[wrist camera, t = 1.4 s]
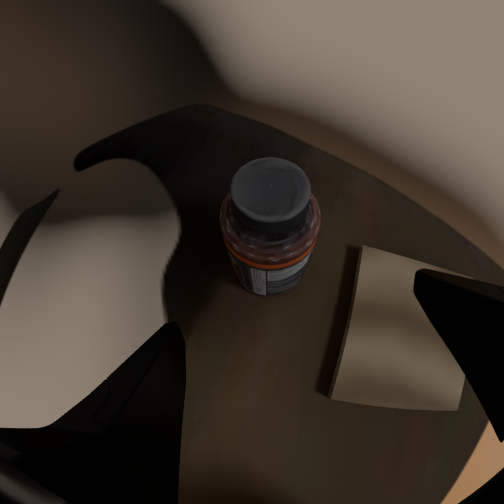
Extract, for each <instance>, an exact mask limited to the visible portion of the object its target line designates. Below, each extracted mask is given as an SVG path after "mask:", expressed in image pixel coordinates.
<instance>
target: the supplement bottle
mask: <svg viewBox="0 0 504 504" xmlns="http://www.w3.org/2000/svg"><path fill="white" fill-rule="evenodd" d="M219 220H220V228H221V232H222V235H223V238H224V242H225V245H226V248H227V250H228V253H229V256H230V259H231V262H232V265H233V268H234V272H235V274H236V276H237V278H238V279H239V281H240V282H241V284H242V285H243V286H244V287H245V288H246V289H247V290H248V291H250V292H252V293H253V294H256V295H259V296H263V297H277V296H281V295H283V294H285V293H287V292H289V291H290V290H292V289H293V288H294V287H295V286H296V285H297V284H298V283H299V281H300V279H301V277H302V276H303V274H304V271H305V268H306V266H307V263H308V261H309V258H310V256H311V253H312V251H313V248H314V245H315V242H316V239H317V237H318V234H319V230H320V222H321V215H320V210H319V206H318V204H317V201H316V199H315V197H314V196H313V194H312V193H311V187H310V182H309V179H308V178H307V176H306V174H305V173H304V171H303V170H302V169H301V168H299V167H298V166H297V165H295V164H294V163H292V162H290V161H287V160H284V159H280V158H273V157H267V158H260V159H256V160H253V161H251V162H249V163H247V164H245V165H244V166H242V167H241V168H240V169H239V170H238V171H237V172H236V174H235V175H234V177H233V179H232V182H231V187H230V192H229V193H228V195H227V196H226V198H225V199H224V201H223V204H222V207H221V210H220V217H219Z"/></svg>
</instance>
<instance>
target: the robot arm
mask: <svg viewBox="0 0 504 504" xmlns="http://www.w3.org/2000/svg"><path fill="white" fill-rule="evenodd" d="M413 293H414V295H415V297H416V299H417V300H418V302H419V304H420V305H421V307H422V309H423V311H424V312H425V314H426V316H427V318H428V319H429V321H430V323H431V324H432V326H433V327H434V329H435V330H436V331H437V333H438V334H439V336H440V337H441V339H442V340H443V342H444V343H445V345H446V346H447V348H448V349H449V351H450V352H451V354H452V355H453V357H454V358H455V360H456V362H457V363H458V365H459V366H460V368H461V370H462V371H463V373H464V375H465V376H466V378H467V380H468V381H469V383H470V385H471V386H472V388H473V390H474V392H475V393H476V395H477V397H478V399H479V401H480V403H481V405H482V407H483V409H484V410H485V412H486V414H487V416H488V418H489V420H490V422H491V424H492V426H493V428H494V430H495V433H496V435H497V437H498V439H499V441H500V442H503V440H504V287H503V286H499V285H495V284H491V283H487V282H483V281H478V280H474V279H470V278H466V277H462V276H457V275H453V274H449V273H444V272H440V271H436V270H431V269H427V268H423V269H420V270H417V271H416V272H415V278H414V286H413ZM185 389H186V345H185V340H184V337H183V335H182V332H181V330H180V327H179V325H178V323H177V322H169V323H165V324H164V325H163V326H162V327H161V328H160V329H159V330H158V331H157V332H155V333H154V334H153V335H152V336H151V337H150V338H149V339H148V340H147V341H146V342H145V343H144V344H143V345H142V346H141V347H139V349H137V350H136V351H135V352H134V353H133V354H132V355H131V356H130V357H129V358H128V359H127V360H126V361H125V362H123V363H122V364H121V365H120V366H119V367H118V368H117V369H116V370H115V371H114V372H113V373H112V374H111V375H110V376H109V377H107V379H105V380H104V381H103V382H102V383H101V384H100V385H99V386H98V387H97V388H96V389H95V390H94V391H92V392H91V393H90V394H89V395H88V396H87V397H85V398H84V399H83V400H82V401H80V402H79V403H78V404H77V405H75V406H74V407H73V408H72V409H70V410H69V411H68V412H67V413H65V414H64V415H63V416H61V417H60V418H59V419H58V420H56V421H55V422H53V423H52V424H50V425H48V426H45V427H41V428H0V504H178V486H179V464H180V448H181V434H182V421H183V410H184V399H185ZM458 504H504V468H503V469H502V470H501V471H499V472H498V473H497V474H496V475H495V476H494V477H492V478H491V479H490V480H489V481H488V482H486V483H485V484H484V485H483V486H481V487H480V488H479V489H477V490H476V491H475V492H474V493H472V494H471V495H470V496H468V497H467V498H466V499H464V500H462V501H461V502H460V503H458Z"/></svg>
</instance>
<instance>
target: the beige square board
mask: <svg viewBox="0 0 504 504" xmlns="http://www.w3.org/2000/svg"><path fill="white" fill-rule="evenodd" d="M423 268H427V269H431V270H436V271H440V272H444V273H449V274H453V275H457V276H462V277H466V278H470V279H473V278H471V277H468V276H465V275H461V274H458V273H455V272H452V271H449V270H446V269H443V268H439V267H436V266H433V265H430V264H426V263H423V262H420V261H416V260H413V259H410V258H406V257H403V256H399V255H396V254H392V253H389V252H385V251H382V250H378V249H375V248H371V247H368V246H364V245H363V246H362V247H361V249H360V250H359V255H358V262H357V268H356V275H355V281H354V286H353V292H352V297H351V303H350V308H349V313H348V318H347V322H346V327H345V331H344V336H343V340H342V344H341V349H340V353H339V357H338V361H337V364H336V368H335V372H334V375H333V379H332V383H331V386H330V390H329V393H328V396H327V397H328V398H330V399H334V400H339V401H345V402H352V403H358V404H365V405H373V406H382V407H391V408H402V409H416V410H440V411H457V410H458V406H459V402H460V398H461V393H462V389H463V384H464V379H465V375H464V373H463V371H462V370H461V368H460V366H459V365H458V363H457V362H456V360H455V358H454V357H453V355H452V354H451V352H450V351H449V349H448V348H447V346H446V345H445V343H444V342H443V340H442V339H441V337H440V336H439V334H438V333H437V331H436V330H435V329H434V327H433V326H432V324H431V323H430V321H429V319H428V318H427V316H426V314H425V312H424V311H423V309H422V307H421V305H420V304H419V302H418V300H417V299H416V297H415V295H414V293H413V286H414V278H415V272H416V271H417V270H420V269H423Z"/></svg>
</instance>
